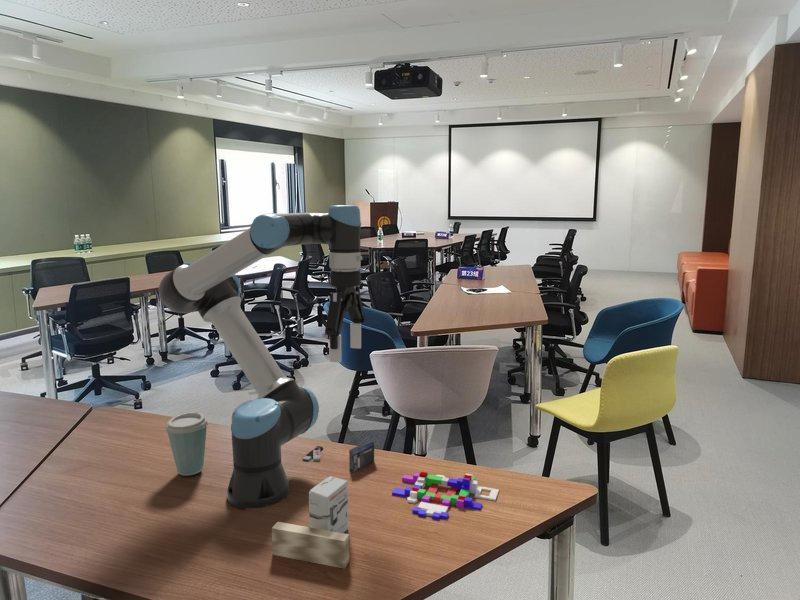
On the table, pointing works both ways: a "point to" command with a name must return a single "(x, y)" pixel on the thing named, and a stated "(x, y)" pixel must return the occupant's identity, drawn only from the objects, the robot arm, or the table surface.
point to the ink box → (329, 505)
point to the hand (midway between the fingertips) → (346, 354)
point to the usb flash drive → (314, 454)
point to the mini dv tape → (361, 456)
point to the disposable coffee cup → (188, 441)
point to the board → (310, 544)
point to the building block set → (440, 481)
